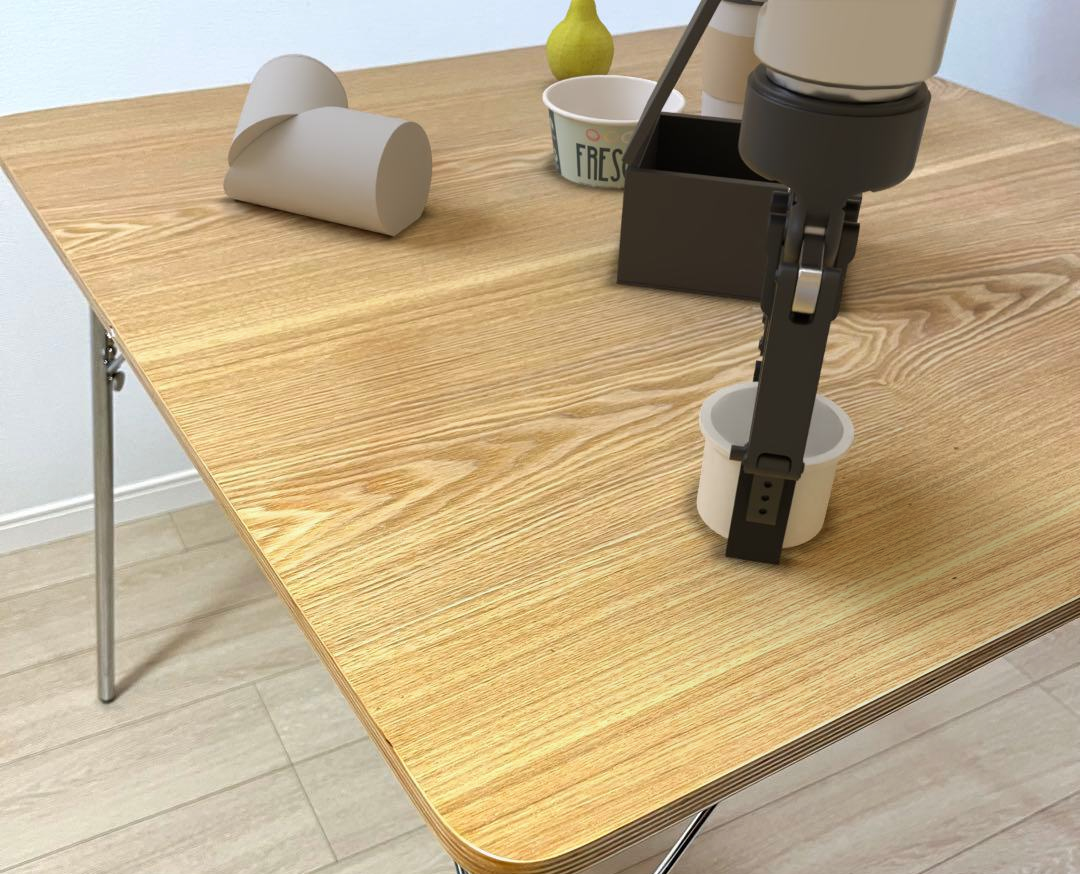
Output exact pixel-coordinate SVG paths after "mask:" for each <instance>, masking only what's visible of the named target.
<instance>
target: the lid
mask: <svg viewBox="0 0 1080 874" xmlns="http://www.w3.org/2000/svg"><path fill="white" fill-rule="evenodd" d="M720 2H721V0H700V2H699V3H698V5H697V7H696V8H695V11H694V12H693V15H692V16H691V19H690V20H689V22H688V23H687V25H686V28H685V30H684V31H683V34H682V36H681V37H680V39H679V41H678V43H677V45H676V47H675V48H674V50H673V52H672V54H671V56H670V58H669V60H668V62H667V64H666V66H665V68H664V69H663V71H662V73H661V74H660V77H659V79H658V81H656V82H657V84H656V86H655V88H654V90H653V92H652V94H651V96H650V98H649V99H648V101H647V104H646V106H645V108H644V110H643V112H642V115H641V117H640V119H639V121H638V124H637V126H636V128H635V130H634V132H633V135H632V137H631V139H630V141H629V143H628V146H627V148H626V150H625V152H624V155H623V157H622V159H621V161H622V162H624V163H626V164H628V165H630V166H631V165H632V164H633V162H634V160H635V158H636V157H637V155H638V153H639V151H640V149H641V147H642V146H643V144H644V142H645V140H646V138H647V136H648V135H649V133H650V131H651V129H652V127H653V125H654V124H655V122H656V120H657V118H658V116H659V114H660V112H661V111H662V109H663V107H664V105H665V103H666V101H667V100H668V98H669V96H670V94H671V92H672V90H673V89H675V86H676V85H677V83H678V81H679V79H680V77H681V75H682V74H683V72H684V70H685V68H686V66H687V65H688V63H689V61H690V60H691V57H692V56H693V54H694V52H695V50H696V48H697V46H698V45H699V43H700V40H702V38H703V34H704V31H705V30H706V28H707V26H708V24H709V22H710V20H711V19H712V17H713V15H714V13H715V11H716V9H717V8H718V6H719V4H720Z"/></svg>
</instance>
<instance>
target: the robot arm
mask: <svg viewBox="0 0 1080 874" xmlns="http://www.w3.org/2000/svg"><path fill="white" fill-rule="evenodd" d="M752 1H757V2H765V3H764V4H763V6H762V7H761V9H760V11H759V13H758V18H757V25H756V32H755V40H754V47H753V50H754V54H755V55H756V56H757V58H758V59H759V60H760V61H761V63H760V64H759V65H758V66H757V67H756V68H755V69H754V70H753V71H752V72H751V73H750V74H749V76H748V80H747V87H746V94H745V101H744V108H743V115H742V122H741V129H740V136H739V144H738V148H739V153H740V156H741V158H742V160H743V161H744V163H745V164H746V165H747V166H748V167H749V168H750V169H751V170H753V171H754V172H755V173H757V174H759V175H760V176H762V177H764V178H766V179H768V180H770V181H773V180H776V181H778V182H780V183H782V184H784V185H785V186H787V187H788V191H787V192H780V191H773V193H772V199H771V205H770V211H769V217H768V223H767V232H766V238H765V250H766V252H767V254H768V255H767V261H766V272H765V278H764V284H763V290H762V296H761V302H760V309H761V311H762V312H763V313H762V318H761V323H762V324H763V334H762V336H761V338H760V339H759V341H758V347H757V349H758V351H759V356H760V357H762V358H761V360H757V359H756V360H755V365H754V372H753V376H752V382H758V388H757V393H756V399H755V405H754V411H753V417H752V423H751V429H750V435H749V441H748V442H747V444H745V446H744V447H743V446H736V445H731V451H730V457H729V460H734V461H740V462H741V466H740V472H739V478H738V483H737V489H736V495H735V501H734V506H733V512H732V518H731V524H730V529H729V535H728V539H727V541H726V548H725V554H724V555H725V556H724V557H725V558H731V559H736V560H744V561H750V562H756V563H761V564H767V565H768V564H769V565H775V566H779V565H780V560H781V555H782V551H783V548H782V547H783V542H784V537H785V533H786V528H787V523H788V519H789V514H790V509H791V505H792V500H793V495H794V491H795V486H796V481H799V479H800V478H801V473H802V474H803V472H804V467H805V463H803V458H804V453H805V448H806V443H807V438H808V433H809V428H810V423H811V418H812V413H813V408H814V403H815V398H816V393H818V388H819V384H820V383H819V382H820V378H821V373H822V369H823V363H824V359H825V354H826V348H827V343H828V339H829V332H830V329H831V325H832V322H834V321H835V320H836V319H837V317H838V314H839V312H840V307H841V301H842V296H843V289H844V285H845V281H846V276H845V274H846V275H847V271H846V269H847V270H848V267H849V264H850V263H851V262H853V260H854V258H855V256H856V252H857V247H858V241H859V235H860V230H861V223H860V222H858V221H857V218H858V219H859V216H858V213H859V214H860V211H859V206H860V200H851V199H849V198H851V197H853V196H855V195H857V194H860V193H862V194H863V193H867V192H871V193H878V192H882V191H885V190H889V189H891V188H894V187H896V186H898V185H899V184H901V183H903V182H904V181H906V180H907V179H908V177H910V175H912V173H913V171H914V169H915V166H916V163H917V159H918V154H919V151H920V147H921V142H922V138H923V135H924V130H925V126H926V122H927V117H928V114H929V110H930V105H931V101H932V92H931V91H930V90H929V88H928V87H929V86H928V85H927V83H926V82H925V81H928V80H930V79H931V78H933V77H934V76H935V75H937V74H938V72H939V70H940V69H941V66H942V62H943V58H944V54H945V49H946V45H947V42H948V38H949V33H950V30H951V25H952V23H953V21H952V20H953V17H954V13H955V10H956V5H957V1H958V0H752ZM856 222H857V223H856ZM847 266H848V267H847ZM844 280H845V281H844Z"/></svg>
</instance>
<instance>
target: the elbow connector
mask: <svg viewBox="0 0 1080 874" xmlns="http://www.w3.org/2000/svg"><path fill="white" fill-rule="evenodd" d="M432 155H433V154H432V148H431V143H430V139H429V137H428V134H427V133H426V131H425V129H424V128H423V127H422V126H421V125H420V124H419V123H418V122H415V121H414V120H407V119H402V118H397V117H391V116H387V115H383V114H377V113H372V112H367V111H362V110H357V109H351V108H349V100H348V96H347V93H346V89H345V87H344V85H343V83H342V81H341V80H340V78H339V77H338V75H337V74H336V73H335V72H334V71H333V70H332V69H331V68H330V67H329V66H328V65H326V64H325V63H324V62H322V61H321V60H318V59H317V58H315V57H312V56H309V55H306V54H300V53H288V54H287V53H286V54H282V55H278V56H275V57H273V58H272V59H270V60H268V61H267V62H265V63H264V64H263V65H262V66H261V67H259V69H258V70H257V72H256V73H255V74H254V77H253V78H252V81H251V83H250V86H249V89H248V92H247V95H246V98H245V101H244V105H243V108H242V110H241V113H240V115H239V119H238V122H237V125H236V129H235V131H234V134H233V138H232V141H231V144H230V147H229V150H228V154H227V162H228V163H227V164H228V169H227V171H226V173H225V175H224V177H223V182H222V188H223V192H224V193H225V195H226V196H227V197H228V198H230V199H232V200H235V201H240V202H244V203H250V204H253V205H257V206H262V207H266V208H269V209H270V208H271V209H273V210H279V211H284V212H288V213H292V214H295V215H301V216H305V217H309V218H313V219H317V220H322V221H326V222H330V223H335V224H339V225H342V226H348V227H352V228H357V229H361V230H365V231H369V232H372V233H373V232H374V233H378V234H382V235H387V236H389V237H390V236H391V237H395V236H397V235H398V234H399V233H401V232H402V231H404V230H405V229H406V228H408V227H409V226H410V225H412V224H413V223H415V222H416V221H417V220H419V219H421V217H422V214H423V212H424V210H425V207H426V205H427V201H428V198H429V195H430V190H431V186H432V185H431V184H432V179H433V178H432V177H433V176H432V175H433V156H432Z"/></svg>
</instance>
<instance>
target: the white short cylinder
mask: <svg viewBox="0 0 1080 874" xmlns="http://www.w3.org/2000/svg"><path fill="white" fill-rule="evenodd" d="M757 388H758V382H753V381H747V382H740V383H736V384H731V385H729V386H726V387H725V386H724V387H722V388H721V389H718V390H717V391H715V392H713V393H712V394H710V395H709V396H708V397H707V398H706V399H705V400H704V401H703V403H702V405H701V407H700V409H699V414H698V427H699V430H700V432H701V435H702V436H703V438H704V439H705V440H704V446H703V447H704V449H703V455H702V462H701V469H700V476H699V483H698V488H697V489H698V490H697V494H696V495H697V496H696V509H697V512H698V514H699V516H700V519H701V520H702V521H703V522H704V523H705V525H707V527H708V528H710V529H711V530H712V531H714V533H716V534H718V535H719V536H721V537H723V538H725V539H727V540H728V535H729V529H730V524H731V518H732V512H733V506H734V501H735V495H736V489H737V483H738V478H739V472H740V466H741V462H740V461H734V460H729V457H730V451H731V445H736V446H743V447H744V446H745V444H747V442H748V441H749V435H750V429H751V423H752V417H753V411H754V405H755V399H756V393H757ZM855 434H856V431H855V426H854V422H853V420H852V419H851V417H850V416H849V414H848V413H847V412H846V411H845V410H844V409H843V408H842V406H840V405H839V404H837V403H836V402H835V401H834V400H832V399H830V398H828V397H827V396H824V395H823V394H820V393H819V392H817V393H816V398H815V403H814V408H813V413H812V418H811V423H810V428H809V433H808V438H807V443H806V448H805V453H804V458H803V463H805V467H804V472H803V474H802V473H801V478H800V479H799V481H796V486H795V491H794V495H793V500H792V505H791V509H790V514H789V519H788V523H787V528H786V533H785V537H784V542H783V547H782V549H789V548H793V547H796V546H800V545H802V544H805V543H807V542H808V541H809V542H810V540H812V539H813V538H815V537H816V536H817V535H818V534H819V533H820V531H821V530H822V528H823V526H824V524H825V519H826V514H827V510H828V506H829V501H830V498H831V493H832V489H833V484H834V480H835V477H836V472H837V468H838V465H839V462H840V461H841V460H843V459H844V458H845V457H846V456H847V455H848V454H849V452H850V451H851V450H852V447H853V444H854V441H855V437H856V436H855Z"/></svg>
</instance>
